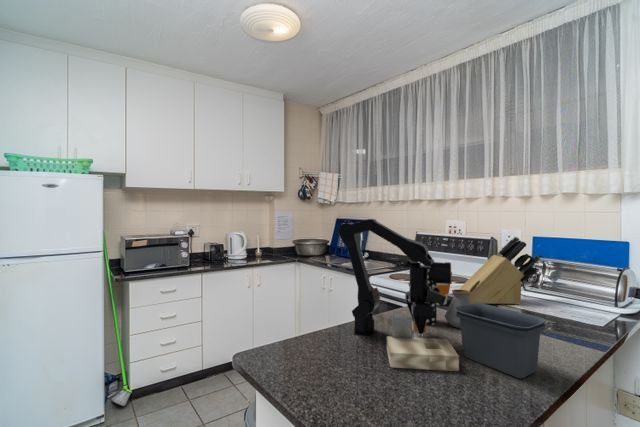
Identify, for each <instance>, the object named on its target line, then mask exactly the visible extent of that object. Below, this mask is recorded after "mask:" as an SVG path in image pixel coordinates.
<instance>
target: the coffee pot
mask: <svg viewBox="0 0 640 427" xmlns="http://www.w3.org/2000/svg"><path fill="white" fill-rule="evenodd" d="M480 282H481V281H477V283H475V285H473V287H472V288H471V289H470V291H467V290H459V289H460V288H458V289H452V290H451V293H452V294H453V298H452V299H451V301H450V303H449V305H448V308H447V310H446V311H445V314H444V318H445V320H446V322H447V323H448V324H449V325H450V326H451V327H454V328H456V329H461V324H460V318H458V317H457V316H456V312H457V311H456V310H455V307H458V306H463V305H467V304H471V302H470V300H469V298H468V297H469V295H470V293H471V292H472V291H473V290H474V289H475V288H476V287H477V285H480V284H479V283H480ZM482 284H483V283H482Z"/></svg>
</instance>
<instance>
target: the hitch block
mask: <svg viewBox="0 0 640 427" xmlns="http://www.w3.org/2000/svg"><path fill="white" fill-rule="evenodd" d="M386 353H387V357H388V362H389V367H390V368H396V369H397V368H398V369H400V368H401V369H413V370H431V371H447V372H448V371H449V372H451V371H452V372H459V371H460V366H459V365H460V355H459V354H458V353H457V351H456V350H455V349H454V347H453V346H452V344H451V342H450V341H449V340H448V339H447V338H431V337H430V338H429V337H423V338H414V336H412V338H395V337H392V335H391V336H390V335H389V336H386Z"/></svg>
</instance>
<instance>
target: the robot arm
mask: <svg viewBox="0 0 640 427" xmlns="http://www.w3.org/2000/svg"><path fill="white" fill-rule="evenodd" d="M369 231H370V232H371V233H373V234H375V235H377V236H378V237H380V238H381V239H383V240H385V241H387V242H388V243H390V244H392V245H393V246H395V247H397V248H398V249H399V250H401V252H402V253H403V254H404V255H405V256H406V257H408V260H407V261H406V263H405V264H403V267H404V268H408V269H409V282H408V287H409V291H407V292H405V294H404V299H405V302H406V305H407V308H408V311H409V314H410V315H411V318H412V319H414V321H415V323H416V326H417V329H418V332H419V334H423V335H424V332H423V331H424V327H425V324H426V321H427V319H428V318H429V317H432V315H434V308H433V307H432V306H431V305H430V304H429V303H425V302H430V301H433V302H435V303H438V304H439V305H438V306H444V305H443V304H444V302H445V299H446V296H445V295H444V294H442V293H440V291H439V288H437V287H433V288H432V289H430V287H429V286H428V285H427V269H429V279H431V281H433V283H443V284H450V285H452V284H453V283H452V282H453V271H452V262H448V261H446V262H439V261H438V262H437V261H435V260H434V258H433V257H432V256H431V255H430V253H429V248H428V246H427V245H426V244H425V243H423V242H420V241H417V240H414V239H412V238H407V237H405V236H403V235H402V234H399V233H398V232H396V231H395V230H392V229H391V228H389V227H388V226H386V225H384V224H382V223H381V222H379V221H377V219H374V218H368V219H366V220H363V221H359V222H345V223H342V224H341V225H340V226H339V228H338V234H339V237H340V239H341V241H342V244H344V246H345V247H346V249H347V251H348V255H349V259H350V263H351V266H352V270H353V274H354V277H355V281H356V284H357V303H358V304H357V305H356V306H355V308H353V309H352V310H351V314H352V316H353V318H354V328H353V329H354V330H353V334H354V335H363V336H364V335H365V336H366V335H367V336H373V335H374V332H375V318H374V317H373V312H374V310H375V309H377V308H378V307H379V304H380V299H381V297H380V294H379V290H378V287H377V286H376V287H373V285H372V284H371V282H370V278H369V274H368V271H367V268H366V263H365V260H364V257H363V253H362V248H361V234H362V233H366V232H369Z"/></svg>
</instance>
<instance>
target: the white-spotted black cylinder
mask: <svg viewBox="0 0 640 427" xmlns="http://www.w3.org/2000/svg"><path fill="white" fill-rule="evenodd" d="M427 285H428V286H429V287H430V289H432V288H433V287H437V283H433V281H431V279H429V269H427ZM425 303H429V304H430V305H431V306H432V307H433V308H434V315H432V317H429V318H428V319H427V321H426V326H434V325H437V319H438V318H437V316H438V315H437V311H438V310H437V307H438V305H437V303H435V302H433V301H430V302H425Z"/></svg>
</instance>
